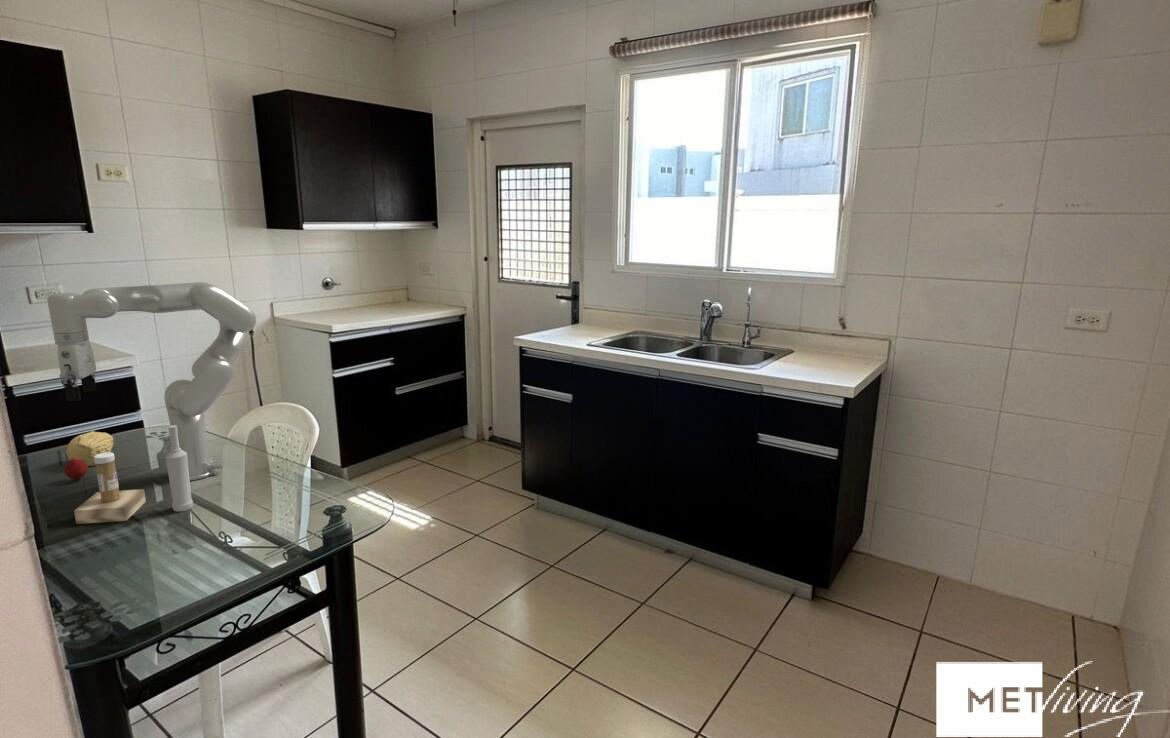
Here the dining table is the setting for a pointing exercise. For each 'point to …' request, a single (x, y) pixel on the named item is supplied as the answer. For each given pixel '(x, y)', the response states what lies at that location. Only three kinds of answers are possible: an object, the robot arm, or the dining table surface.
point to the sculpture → (89, 446)
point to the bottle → (178, 474)
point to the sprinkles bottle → (107, 476)
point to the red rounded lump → (75, 468)
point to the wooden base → (110, 507)
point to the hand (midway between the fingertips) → (82, 395)
